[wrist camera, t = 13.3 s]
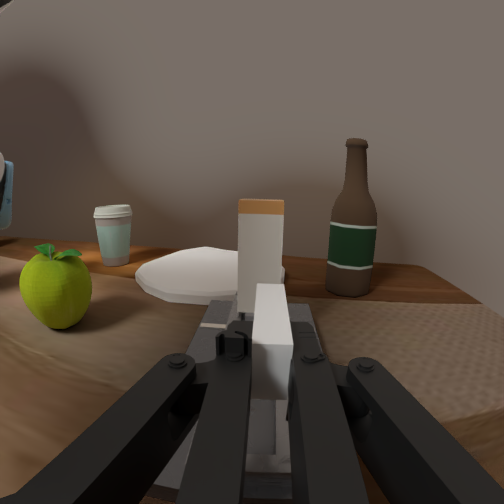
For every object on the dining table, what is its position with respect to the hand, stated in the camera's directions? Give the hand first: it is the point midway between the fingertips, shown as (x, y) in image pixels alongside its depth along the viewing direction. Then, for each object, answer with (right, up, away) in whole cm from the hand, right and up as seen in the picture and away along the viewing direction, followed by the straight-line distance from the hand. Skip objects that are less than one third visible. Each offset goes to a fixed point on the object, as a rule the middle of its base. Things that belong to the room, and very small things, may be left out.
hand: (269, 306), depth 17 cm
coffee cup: (-30, +1, +41) cm, 51 cm away
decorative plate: (-8, -2, +35) cm, 36 cm away
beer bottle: (+15, -3, +30) cm, 33 cm away
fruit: (-25, -6, +14) cm, 29 cm away
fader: (0, -4, +13) cm, 14 cm away
